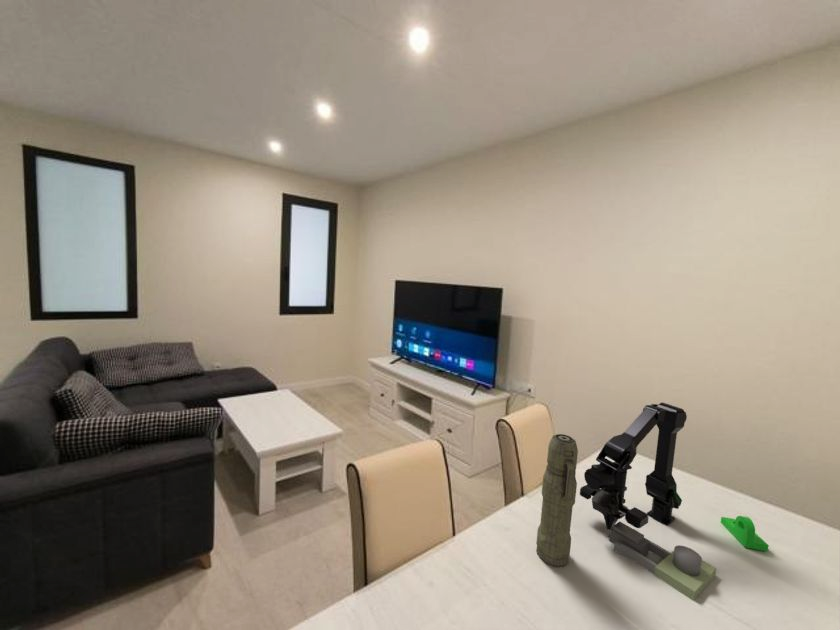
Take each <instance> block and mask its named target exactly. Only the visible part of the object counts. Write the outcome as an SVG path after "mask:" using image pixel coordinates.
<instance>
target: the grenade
mask: <svg viewBox="0 0 840 630" xmlns="http://www.w3.org/2000/svg"><path fill="white" fill-rule="evenodd" d="M547 447H548V449H547V458H546V463H547V465H546V468H545V471H544V473H543V475H542V484H541V495H542V503H541V504H542V505H541V513H540V523H539V525H538V527H537V535H536V551H535V552H536V555H537V557H538V558H539V559H540V561H542V562H543V563H545V564H546V565H548V566H550V567H554V568H556V569H557V568H564V567H566V566H567V565H568V564H569V557H570V553H571V544H572V537H571V536H572V535H571V525H572V515H573V507H574V505H575V503H576V496H577V487H578V486H577V485H578V482H577V478H576V472H577V471H576V470H577V463H578V455H579V454H578V453H579V451H578V450H579V449H578V445H577V441H576V439H574V438H573V437H571V436H569V435H567V434H563V433H558V434H553V435H552V437H551V439H550V441H549V443H548V446H547Z"/></svg>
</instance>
